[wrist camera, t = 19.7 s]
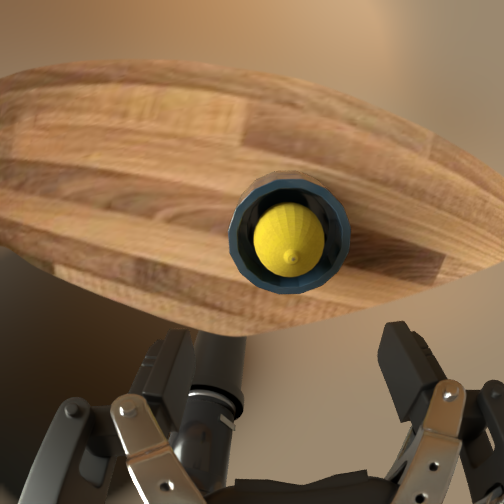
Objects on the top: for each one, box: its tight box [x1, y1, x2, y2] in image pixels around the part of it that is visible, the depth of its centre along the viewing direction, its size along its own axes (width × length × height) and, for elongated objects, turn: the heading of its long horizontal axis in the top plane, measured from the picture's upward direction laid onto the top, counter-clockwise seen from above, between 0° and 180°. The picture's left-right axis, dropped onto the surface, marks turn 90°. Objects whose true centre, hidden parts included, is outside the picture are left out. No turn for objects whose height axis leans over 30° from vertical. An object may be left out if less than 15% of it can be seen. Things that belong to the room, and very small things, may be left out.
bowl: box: [228, 171, 351, 294], centre depth 24 cm, size 9×9×6 cm
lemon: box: [254, 202, 324, 277], centre depth 22 cm, size 6×6×8 cm
